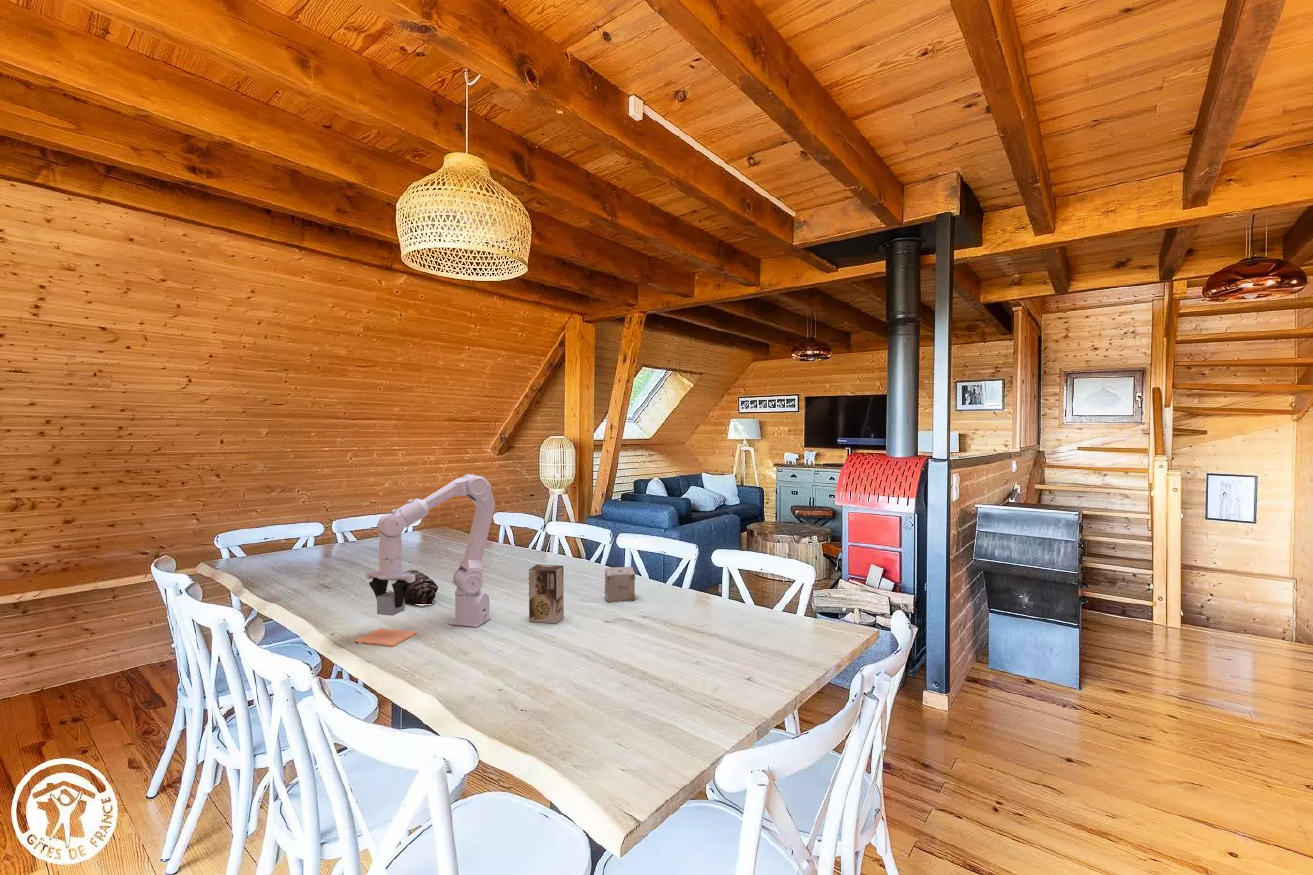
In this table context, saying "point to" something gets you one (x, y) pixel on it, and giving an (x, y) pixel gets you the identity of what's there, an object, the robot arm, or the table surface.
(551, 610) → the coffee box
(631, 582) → the brown cardboard box
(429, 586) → the pine cone
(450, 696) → the table surface
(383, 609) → the slate block
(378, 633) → the terracotta tile
